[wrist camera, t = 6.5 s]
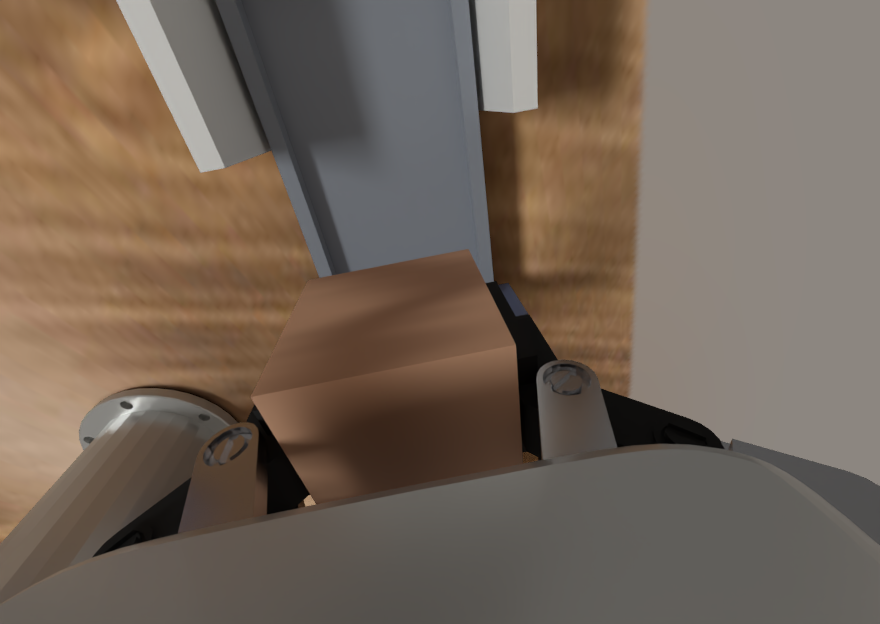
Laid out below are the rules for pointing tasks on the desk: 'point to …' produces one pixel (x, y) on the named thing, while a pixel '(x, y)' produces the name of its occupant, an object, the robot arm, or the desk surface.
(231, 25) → the blue pull-out tray
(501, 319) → the block
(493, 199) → the desk surface
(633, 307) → the desk surface
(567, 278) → the desk surface
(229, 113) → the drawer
